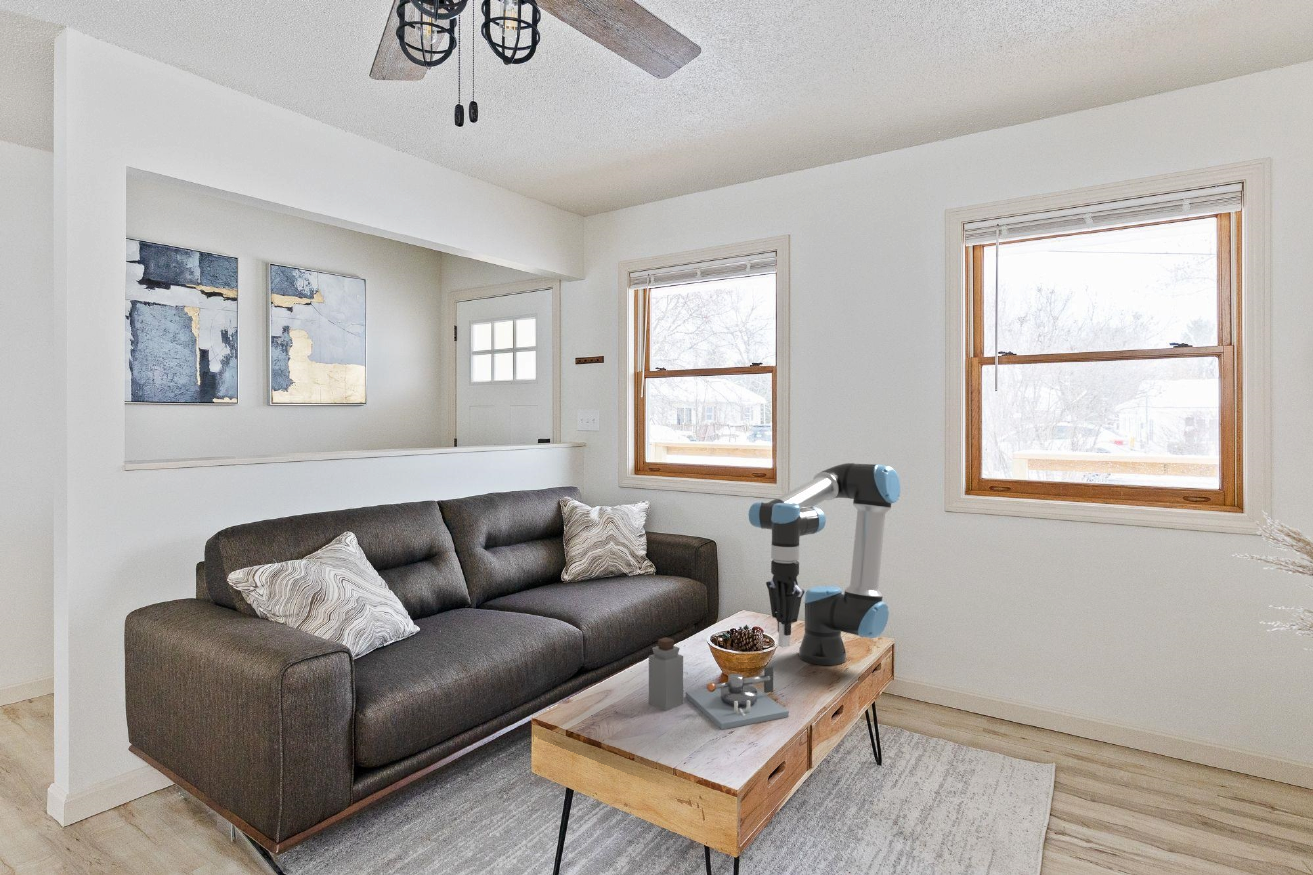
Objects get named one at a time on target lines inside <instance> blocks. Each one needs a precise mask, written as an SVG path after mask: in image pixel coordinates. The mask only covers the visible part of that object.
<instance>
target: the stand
mask: <svg viewBox="0 0 1313 875" xmlns="http://www.w3.org/2000/svg"><path fill="white" fill-rule="evenodd" d="M749 685H751V686H753V687H755V688H756V689H757V701H756V702H755V703H753V704H751V705H750V700H747V705H746V706H738V701H734V705H731V704H727V703H725V702H723V701H722V700H721V688H719V689H715V691H713V692H709V691H708V690H707V687H706V688H701V689H696V690H695V689H694V690H689V691H685V698H686V699H687V700H689V701H690V703H692V704H693V705H694V706H695V707H696V708H697V709H698V710H699V711H701V712H702V713H703V714H704V715H705V716H706V717H707V718H708V719H710V721H712V722H713V723H714V724H715V725H716V726H717V727H718V728H720V729H721V730H726V729H732V728H737V727H742V726H748V725H752V724H759V723H762V722H767V721H772V720H778V719H779V720H780V719H784V718H789V717H790V714H789V712H790V711H789V710H788V709H787V708H785V707H784V706H783V705H781V704H779V703H778V702H777V701H776V700H774V699H773V698H771V697H770V696H768V695H767V693H765V692H764V691H761V690H760V689H759V688H757V687H756V686H754V684H749Z"/></svg>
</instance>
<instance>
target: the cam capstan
mask: <svg viewBox="0 0 1313 875" xmlns="http://www.w3.org/2000/svg"><path fill="white" fill-rule="evenodd" d="M763 671H764V672H763V673H764V674H762V675H756V676H749V677H745V678H744V676H743V675H742V674H740V673H730V674H729V675H727V676H728V677H727V678H728V680H727V682H722V683H713V682H709V683H708V684H707V685H706V688H707V690H708V691H709V692H713V691H715V689H719V688H721V700H722V701H723V702H725V703H727V704H731V705H734V701H738V706H746V705H747V700H750V705H751V704H753V703H755V702H756V701H757V689H758V688H757V687H756V686H754V685H755V684H760V683H763V693H764V694H767V693H773V692H774V666H772V665H770V666H764V667H763ZM749 684H752V685H753V686H754V687H753V686H751V685H749ZM755 687H756V688H757V689H756V688H755Z"/></svg>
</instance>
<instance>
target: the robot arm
mask: <svg viewBox="0 0 1313 875" xmlns="http://www.w3.org/2000/svg"><path fill="white" fill-rule="evenodd" d="M900 494H901V482H900V477H899V475H898V473H897V471H896V470H895V469H894V468H893V467H892V466H889V465H883V464H874V463H873V464H871V463H854V462H852V463H851V462H847V463H841V464H838V465H835V466H832V467H829V468H826V469H824V470H822V471H821V472H818V473H816V474H815V475H814V477H813V478H812V480H810V481H807V482H806V483H804V484H802V485H800V486H798V487H796V488H794V489H792V490H790V491H789V492H786V493H784V494H782V495H780V496H779V497H778V496H777V498H774V499H773V500H771V501H769V502H763V501H761V502H760V501H759V502H754V503H753V504H751V506H750V508H749V510H748V521H749V523H750V524H751V526H753V527H755V528H759V529H761V530H763V529H764V530H771V551H770V558H771V559H772V560H771V561H770V572H771V574H772V579H771V580H769V581H766V582H765V585H766V587H767V590H768V596H769V597H768V598H769V602H770V610H771V616H772V618H775V619H776V621H777V633H778V647H780V648H787V647H790V646H791V645H790V644H791V641H790V640H791V638H790V636H791V634H792V624H794V623H796V622H797V623H798V619H799V614H800V607H801V603H802V599H803V596H804V595H805V596H804V602H803V603H804V634H803V637H802V639H801V643H800V647H799V649H798V656H799V658H800V659H801V660H803V661H804V662H806V663H810V664H813V665H819V666H836V665H840V664H841V665H842V664H843V663H845V662H846V661H847V650H846V648H845V644H844V641H843V637H842V633H845V634H846V633H847V634H851V635H855V636H858V637H860V638H869V639H876V638H878V637H879V636H880V635H881V634H882V633H883V632H884V630H885V628H886V626H887V624H888V621H889V615H890V610H889V607H888V604H887V603H885V602H884V601H883V596H884V595H883V593H881V591H880V590H879V585H880V573H881V563H882V552H883V543H884V531H885V520H886V513H888V512H889V511H891V509H892V504H895V503H897V501H898V500H899V497H900ZM837 498H838V499H849V500H851V499H852V501H853V502H852V504H853V507H854V508H855V509H856V520H855V530H854V531H855V532H854V541H853V551H852V562H851V563H852V564H851V570H850V571H851V573H850V580H849V581H850V583H849V585H848V586H847V587H846V588H845V589H844V591H842V588H841V587H839V586H833V585H832V586H831V585H829V586H827V585H826V586H825V585H823V586H815V587H811V588H809V589H807V590H806V592H805V589H801V588H800V587H799V586H798V585H799V582H798V577H799V575H800V562H799V559H800V537H802V536H808V535H815V534H817V533H819V532H821V531H822V530H823V529H824V528H825V526H826V521H827V520H826V515H825V513H824V511H823V510H822V509H821V508H820V507H818V506H817V505H819V504H820V503H822V502H824V501H826V502H827V501H828V502H829V501H832V500H835V499H837ZM816 506H817V507H816ZM842 592H844V593H842Z"/></svg>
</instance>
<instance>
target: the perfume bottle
mask: <svg viewBox="0 0 1313 875" xmlns="http://www.w3.org/2000/svg"><path fill="white" fill-rule="evenodd" d="M651 649H652V652H653V654H650V655H648V704H649V705H651V706H652V707H653V706H654V707H656V708H657V709H660V710H663V711H665V712H667V711H670V710H672V709H674V708H676V707H679V706H681V705H683V704H684V655H682V654H679V652H680V647H679V646H676V645H675V639H674V638H670V637H667V636H666V637H662V638H659V639H657V645H656V646H654V647H652V648H651Z"/></svg>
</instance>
